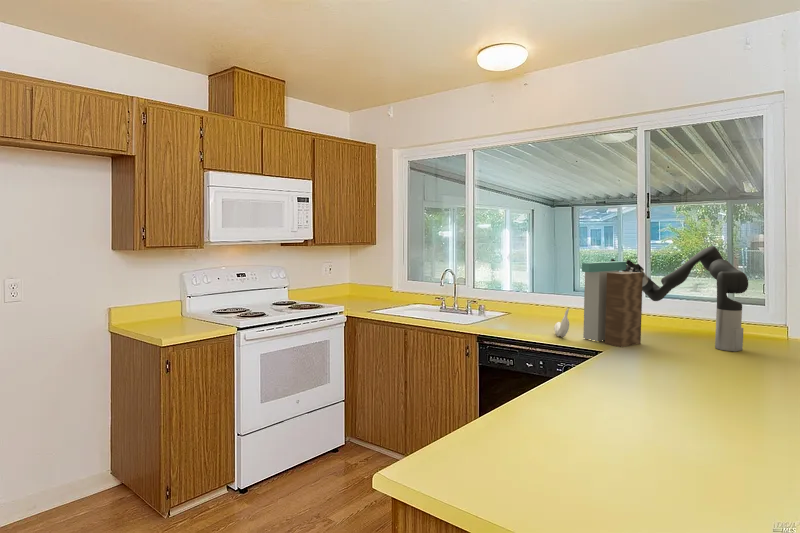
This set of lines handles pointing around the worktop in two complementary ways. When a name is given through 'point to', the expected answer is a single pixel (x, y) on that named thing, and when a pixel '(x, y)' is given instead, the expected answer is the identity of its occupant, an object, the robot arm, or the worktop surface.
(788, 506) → the worktop surface
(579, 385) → the worktop surface
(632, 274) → the walnut stand
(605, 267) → the teal block
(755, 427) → the worktop surface
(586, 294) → the grey stand
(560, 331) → the white tapered lobed shape
